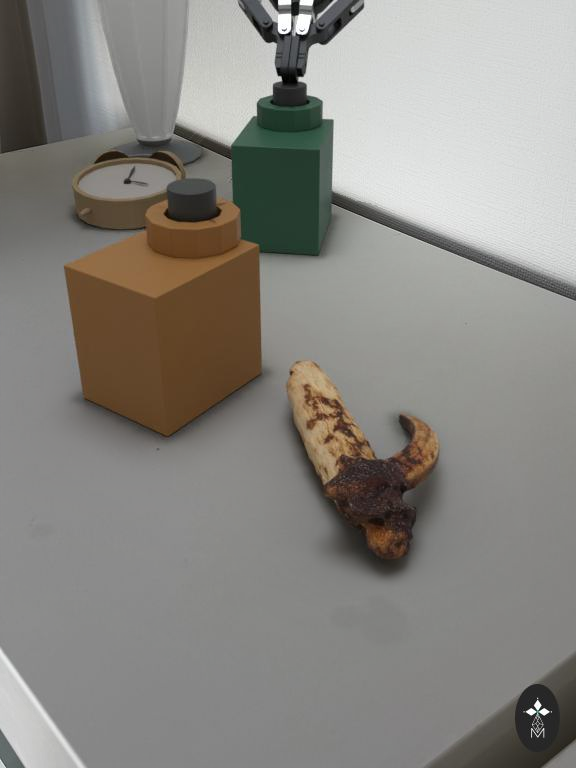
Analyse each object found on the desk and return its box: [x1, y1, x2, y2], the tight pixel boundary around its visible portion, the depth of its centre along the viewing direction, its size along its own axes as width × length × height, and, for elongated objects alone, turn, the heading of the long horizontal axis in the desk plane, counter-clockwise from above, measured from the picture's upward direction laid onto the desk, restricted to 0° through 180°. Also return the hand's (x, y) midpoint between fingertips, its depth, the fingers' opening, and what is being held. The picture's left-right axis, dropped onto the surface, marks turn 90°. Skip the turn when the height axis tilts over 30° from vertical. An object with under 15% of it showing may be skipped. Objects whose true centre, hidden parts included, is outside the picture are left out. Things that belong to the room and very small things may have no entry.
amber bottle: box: [63, 197, 263, 437], centre depth 59 cm, size 11×8×12 cm
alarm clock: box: [71, 149, 187, 230], centre depth 92 cm, size 11×5×15 cm
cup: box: [96, 0, 202, 166], centre depth 102 cm, size 12×12×22 cm
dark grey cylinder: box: [167, 177, 217, 223], centre depth 57 cm, size 3×3×2 cm
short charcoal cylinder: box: [272, 80, 308, 107], centre depth 82 cm, size 3×3×2 cm
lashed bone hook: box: [285, 360, 441, 560], centre depth 52 cm, size 9×5×18 cm
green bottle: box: [230, 94, 335, 256], centre depth 83 cm, size 11×8×12 cm
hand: (289, 77), depth 81 cm, fingers closed
